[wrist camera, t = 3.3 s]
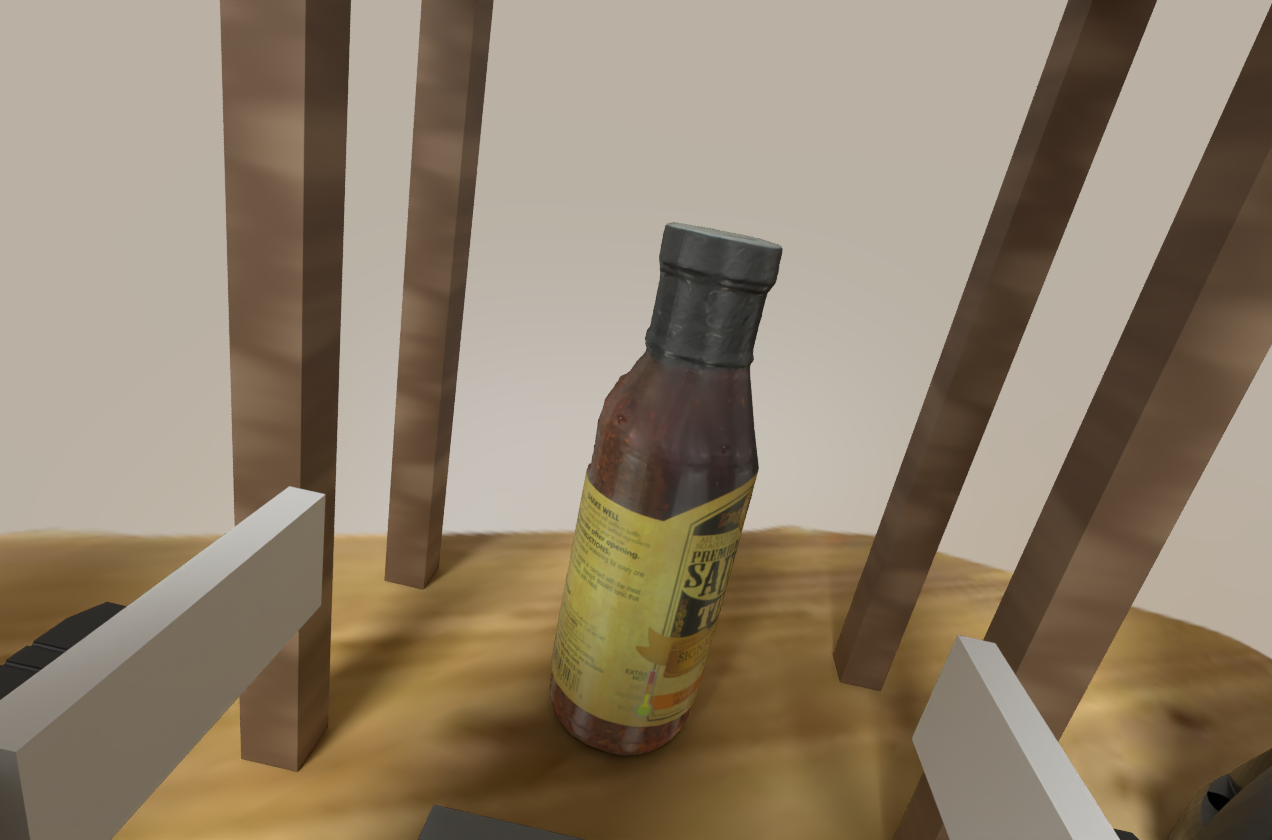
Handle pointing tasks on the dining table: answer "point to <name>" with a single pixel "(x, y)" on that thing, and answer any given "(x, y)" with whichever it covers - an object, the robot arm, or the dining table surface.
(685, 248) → the sauce bottle
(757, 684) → the dining table surface
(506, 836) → the charcoal mat
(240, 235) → the walnut table
